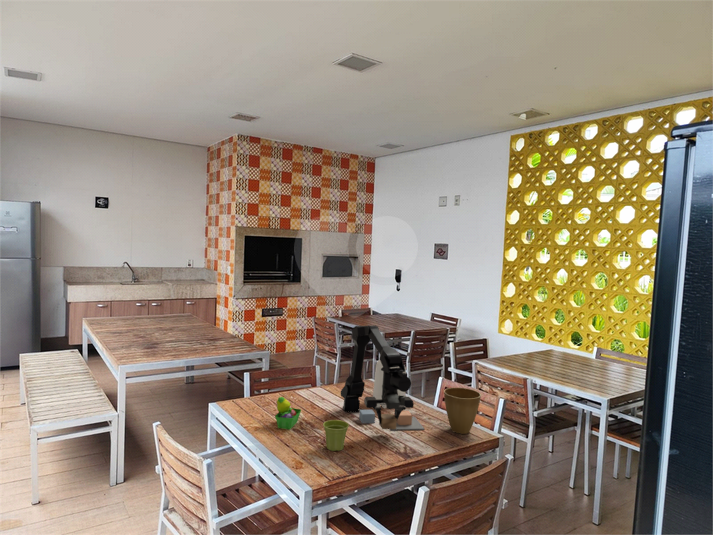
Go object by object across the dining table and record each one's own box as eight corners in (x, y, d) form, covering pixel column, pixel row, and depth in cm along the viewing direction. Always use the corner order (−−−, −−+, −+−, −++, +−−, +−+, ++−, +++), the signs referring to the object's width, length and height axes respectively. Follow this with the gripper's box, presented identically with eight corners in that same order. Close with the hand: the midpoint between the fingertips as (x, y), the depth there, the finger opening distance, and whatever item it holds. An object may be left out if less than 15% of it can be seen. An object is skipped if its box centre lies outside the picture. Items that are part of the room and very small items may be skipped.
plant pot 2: (448, 421, 206) (451, 385, 206) (482, 429, 199) (485, 392, 198) (436, 431, 194) (438, 393, 193) (472, 440, 186) (474, 400, 185)
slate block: (361, 423, 199) (362, 414, 198) (359, 418, 204) (359, 409, 204) (374, 423, 200) (375, 414, 200) (371, 418, 205) (372, 409, 205)
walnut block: (382, 429, 183) (383, 419, 183) (379, 423, 189) (379, 414, 189) (396, 428, 184) (396, 418, 184) (392, 423, 190) (392, 413, 190)
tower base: (391, 430, 192) (391, 419, 192) (383, 418, 206) (384, 407, 206) (424, 430, 195) (425, 419, 194) (414, 417, 208) (415, 407, 208)
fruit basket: (292, 431, 186) (293, 403, 185) (270, 428, 188) (272, 400, 187) (301, 421, 197) (302, 394, 197) (281, 418, 199) (282, 392, 198)
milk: (372, 400, 230) (375, 347, 229) (393, 398, 235) (396, 346, 234) (384, 408, 219) (387, 352, 218) (405, 406, 224) (408, 351, 223)
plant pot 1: (316, 449, 170) (318, 425, 170) (330, 440, 179) (331, 417, 178) (339, 455, 166) (340, 431, 166) (352, 446, 174) (353, 423, 174)
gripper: (370, 390, 177) (368, 431, 177) (418, 390, 180) (416, 431, 180) (365, 382, 188) (362, 420, 188) (410, 382, 191) (408, 420, 191)
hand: (387, 423), depth 187 cm, fingers closed on walnut block, 5 cm apart
